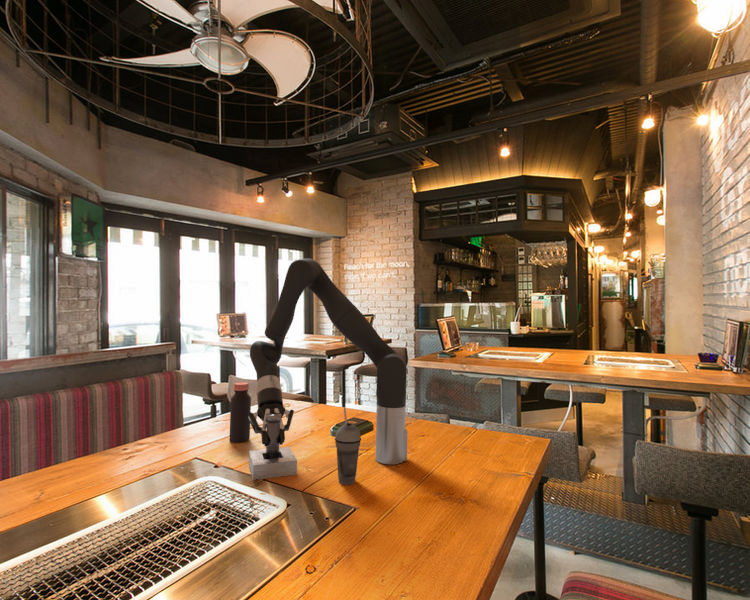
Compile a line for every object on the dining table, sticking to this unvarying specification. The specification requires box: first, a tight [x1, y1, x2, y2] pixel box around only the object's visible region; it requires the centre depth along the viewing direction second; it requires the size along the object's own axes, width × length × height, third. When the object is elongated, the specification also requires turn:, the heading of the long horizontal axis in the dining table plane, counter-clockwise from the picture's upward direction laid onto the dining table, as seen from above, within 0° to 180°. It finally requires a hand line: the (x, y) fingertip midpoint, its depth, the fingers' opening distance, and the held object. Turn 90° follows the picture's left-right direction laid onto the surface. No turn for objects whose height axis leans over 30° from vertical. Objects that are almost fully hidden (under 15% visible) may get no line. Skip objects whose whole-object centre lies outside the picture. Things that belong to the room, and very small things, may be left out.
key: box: [265, 413, 281, 459], centre depth 118 cm, size 4×4×14 cm
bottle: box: [229, 381, 252, 444], centre depth 143 cm, size 7×7×20 cm
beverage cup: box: [334, 407, 362, 486], centre depth 111 cm, size 7×7×20 cm
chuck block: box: [248, 446, 298, 481], centre depth 118 cm, size 12×12×4 cm
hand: (273, 443), depth 116 cm, fingers closed on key, 3 cm apart
